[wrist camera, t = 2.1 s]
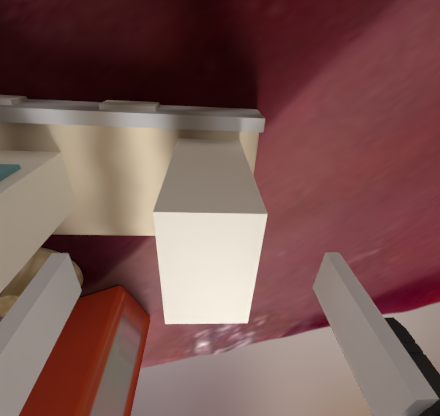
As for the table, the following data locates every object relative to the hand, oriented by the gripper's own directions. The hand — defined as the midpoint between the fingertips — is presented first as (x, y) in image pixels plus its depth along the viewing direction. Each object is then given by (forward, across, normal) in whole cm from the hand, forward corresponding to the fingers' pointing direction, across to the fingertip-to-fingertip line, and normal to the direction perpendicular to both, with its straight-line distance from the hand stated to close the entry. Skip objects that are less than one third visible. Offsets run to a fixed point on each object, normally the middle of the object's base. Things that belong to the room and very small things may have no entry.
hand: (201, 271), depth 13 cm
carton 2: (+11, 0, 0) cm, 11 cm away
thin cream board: (+13, +7, 0) cm, 15 cm away
